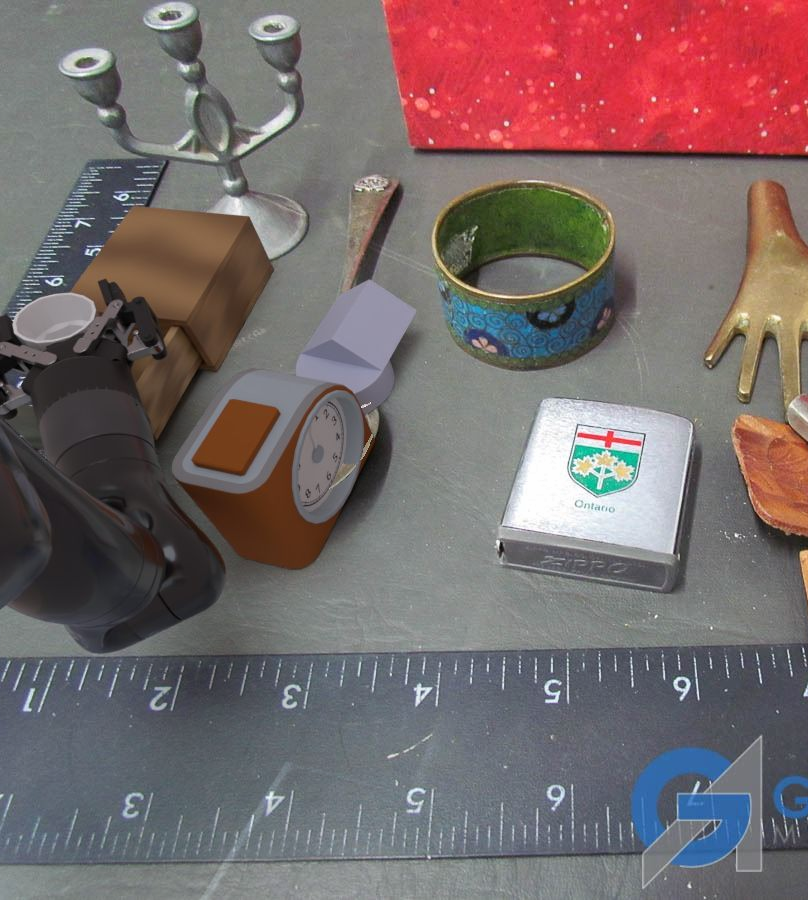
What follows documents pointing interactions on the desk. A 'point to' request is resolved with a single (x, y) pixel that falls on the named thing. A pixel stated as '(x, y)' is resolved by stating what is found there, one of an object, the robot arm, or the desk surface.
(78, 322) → the cup
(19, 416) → the drawer
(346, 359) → the wedge on round base
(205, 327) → the cabinet
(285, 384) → the alarm clock
